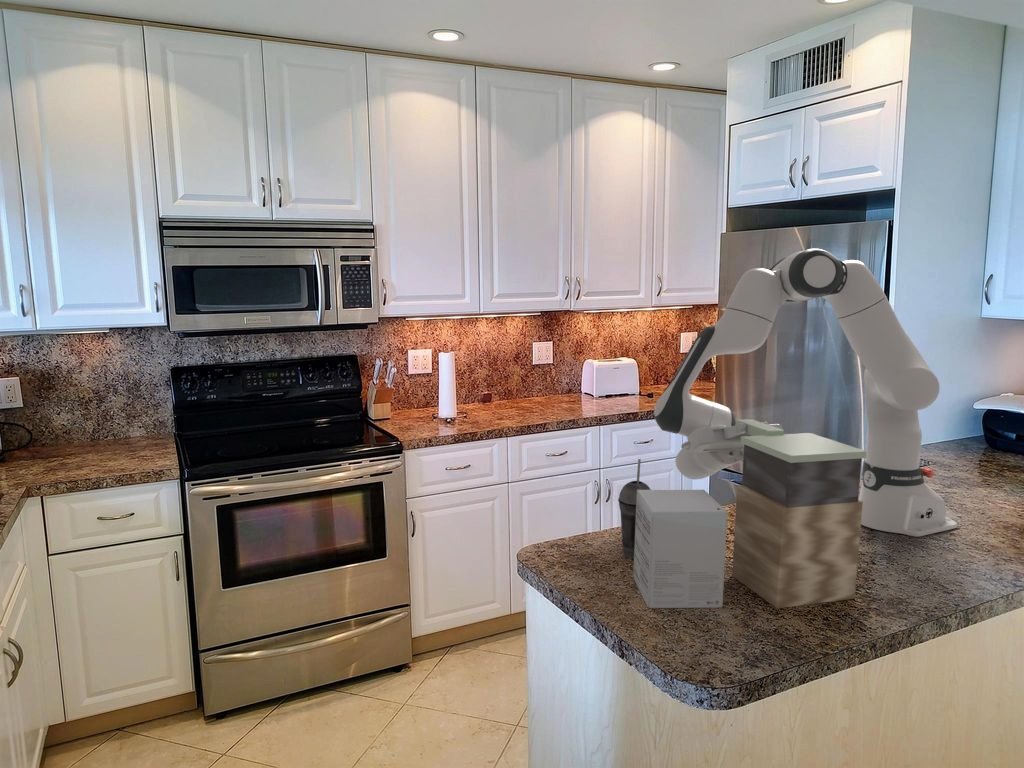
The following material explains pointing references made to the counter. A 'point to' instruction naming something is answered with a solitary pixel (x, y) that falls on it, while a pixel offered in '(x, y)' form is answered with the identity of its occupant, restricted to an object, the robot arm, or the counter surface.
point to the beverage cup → (630, 513)
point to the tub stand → (797, 529)
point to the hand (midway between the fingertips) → (755, 426)
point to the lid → (796, 444)
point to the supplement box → (679, 549)
